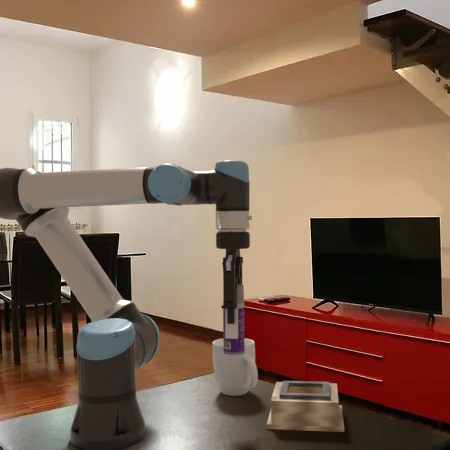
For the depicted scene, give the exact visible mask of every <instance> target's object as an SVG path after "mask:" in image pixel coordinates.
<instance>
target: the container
mask: <svg viewBox="0 0 450 450" xmlns="http://www.w3.org/2000/svg"><path fill="white" fill-rule="evenodd" d="M244 292H245V291H244V284H243V283H242V284H237V308H238V339H226V338H225V309H222V311H223V312H222V316H223V317H222V321H223V323H222V325H223V328H222V329H223V332H222V333H223V335H222V336H223V338H222V339H223V345H224V354H228V355H240V354H244V352H245V343H244V338H245V304H244V300H245V296H244V295H245V293H244Z"/></svg>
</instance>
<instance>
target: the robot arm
mask: <svg viewBox="0 0 450 450" xmlns="http://www.w3.org/2000/svg"><path fill="white" fill-rule="evenodd" d="M250 183H251V182H250V171H249V164H248V163H247V162H245V161H243V160H230V159H229V160H228V159H227V160H219V161H217V162H216V163H215V167H214V169H212V170H203V171H202V170H200V171H198V170H197V171H196V170H195V171H193V170H189V169H186V168H185V167H181V166H180V165H177V164H175V163H163V164H160V165H158V166H150V167H149V166H145V167H144V166H141V167H127V168H126V167H125V168H124V167H123V168H106V169H103V168H102V169H90V170H84V169H83V170H71V171H70V170H68V171H50V172H49V171H48V172H41V171H37V170H35V169H33V168H16V167H14V168H13V167H3V168H0V219H2V220H11V221H16V223H18V224H17V225H18V226H20V228H21V230H22V231H23V233H24V234H25V235H26V236H28V237H31V238H36V240H37V241H38V243H39V244H40V246H41V247H42V249H43V250H44V253H46V255H47V256H48V258H49V259H50V261H51V262H52V264H53V265H54V267H55V268H56V270H57V271H58V272H59V274H60V276H61V277H62V278H63V280H64V282H65V283H66V285H68V288H69V289H70V291H71V292H72V293H73V295H74V296H75V297H76V299H77V301H78V302H79V304H80V305H81V307H82V308H83V310H84V311H85V313H86V314H87V316H88V317H89V318H90V321H91V322H88V323H86V324H84V325H83V326H82V327H80V329H79V330H78V333H77V337H76V338H77V339H76V340H77V342H76V353H77V354H76V355H77V356H76V357H77V383H78V384H77V386H78V387H77V389H78V392H77V393H78V403H77V406H76V409H75V414H74V416H73V421H72V424H71V426H70V443H71V445H72V446H73V447H75V448H77V449H81V450H118V449H119V450H120V449H123V448H126V447H130V446H132V445H134V444H137V443H139V442H140V441H142V440H143V439H144V437H145V436H146V422H145V418H144V416H143V412H142V410H141V407H140V405H139V402H138V398H137V389H136V388H137V384H136V381H137V379H136V378H137V376H136V371H137V370H139V369H140V368H141V367H144V366H145V365H147V363H149V362H151V360H152V359H153V358H154V357H155V355H156V353H157V352H158V350H159V347H160V344H161V333H160V329H159V327H158V325H157V324H156V321H154V320H153V319H152V317H150V316H148V315H146V314H143V313H141V311H140V310H139V308H138V307H137V306H136V304H135V303H134V302H133V300H127V299H124V298H123V297H122V295H121V294H120V293H119V291H118V290H117V288H116V287H115V285H114V284H113V282H112V281H111V279H110V278H109V276H108V274H106V272H105V271H104V269H103V268H102V266H101V265H100V263H99V262H98V261H97V259H96V258H95V256H94V255H93V253H92V252H91V250H90V249H89V247H88V245H87V244H86V243H85V241H84V240H83V238H82V237H81V235H80V234H79V233H78V231H77V230H76V228H75V226H74V225H73V224H72V222H71V220H69V212H70V208H80V207H103V206H121V205H122V206H125V205H128V206H129V205H142V204H143V205H145V204H147V205H149V204H152V205H153V204H154V205H155V204H166V205H170V206H179V207H180V206H188V205H190V206H191V205H192V206H195V205H215V229H216V230H217V232H216V234H215V247H216V249H219V250H225V256H224V257H223V258H222V263H221V264H222V272H223V273H222V275H223V277H222V280H223V281H222V283H223V284H222V285H223V289H222V290H223V291H222V292H223V295H222V300H223V301H222V305H221V309H222V310H223V309H225V338H226V339H238V308H237V284H242V285H243V263H244V256H241V250H242V249H243V250H245V249H249V248H250V247H251V234H250V232H249V231H248V230H250V221H251V220H253V216H252V215H250V192H251V191H250ZM245 303H246V301H245V299H244V305H245Z"/></svg>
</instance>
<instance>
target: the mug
mask: <svg viewBox="0 0 450 450" xmlns="http://www.w3.org/2000/svg"><path fill="white" fill-rule="evenodd" d="M244 343H245V352H244V354H240V355H228V354H224V345H223V338H218V339H216V340H213V341H212V366H213V367H212V368H213V373H214V379H215V382H216V384H217V388H218V389H219V390H220V393H222V394H223V395H225V396H228V397H229V396H232V397H236V396H237V397H238V396H239V397H240V396H244V395H246V394H247V393H248V392H249V390H251V389H254V388H256V386H257V385H258V378H259V376H258V367H257V364H256V346H255V345H256V344H255V341H254V340H253V339H250V338H245V337H244Z"/></svg>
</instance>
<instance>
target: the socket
mask: <svg viewBox="0 0 450 450" xmlns="http://www.w3.org/2000/svg"><path fill="white" fill-rule="evenodd" d="M338 391H339V390H338V383H336V382H335V383H333V382H332V383H331V382H330V381H308V380H307V381H304V380H302V381H301V380H282V381H276V382H275V385H274V389H273V392H272V394H271V399H270V411H269V413H268V414H269V415H268V417H267V422H266V430H284V431H285V430H286V431H289V430H290V431H309V432H333V433H334V432H335V433H336V432H337V433H344V432H345V425H344V424H345V423H344V414H343V405H342V404H340V403H339V394H338V393H339V392H338Z"/></svg>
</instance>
